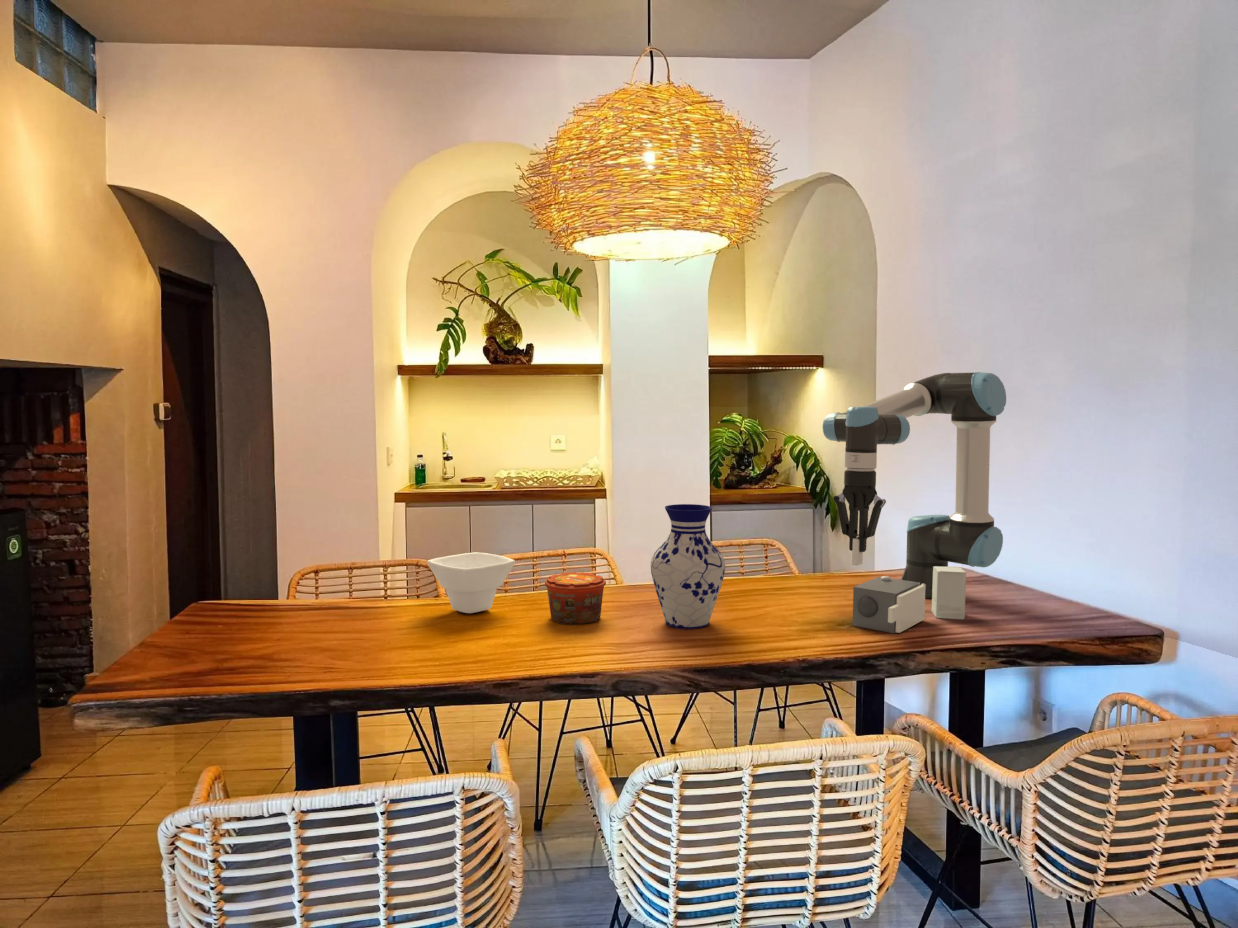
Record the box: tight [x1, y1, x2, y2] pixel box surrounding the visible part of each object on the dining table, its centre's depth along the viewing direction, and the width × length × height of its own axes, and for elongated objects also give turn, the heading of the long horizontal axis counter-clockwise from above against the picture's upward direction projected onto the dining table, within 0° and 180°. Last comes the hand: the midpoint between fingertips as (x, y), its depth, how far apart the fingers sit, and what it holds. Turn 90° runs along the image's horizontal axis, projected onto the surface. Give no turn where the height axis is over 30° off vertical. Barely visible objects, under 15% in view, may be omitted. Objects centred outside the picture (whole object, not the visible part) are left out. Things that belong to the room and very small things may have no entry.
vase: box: [650, 503, 726, 630], centre depth 218 cm, size 19×19×30 cm
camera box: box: [852, 575, 920, 634], centre depth 220 cm, size 17×11×11 cm, turn 140°
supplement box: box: [931, 566, 967, 620], centre depth 228 cm, size 7×7×13 cm
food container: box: [544, 571, 607, 626], centre depth 224 cm, size 16×16×11 cm
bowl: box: [426, 551, 516, 614], centre depth 230 cm, size 19×19×14 cm
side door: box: [888, 584, 926, 634], centre depth 215 cm, size 22×1×10 cm, turn 140°
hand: (857, 564), depth 213 cm, fingers closed
